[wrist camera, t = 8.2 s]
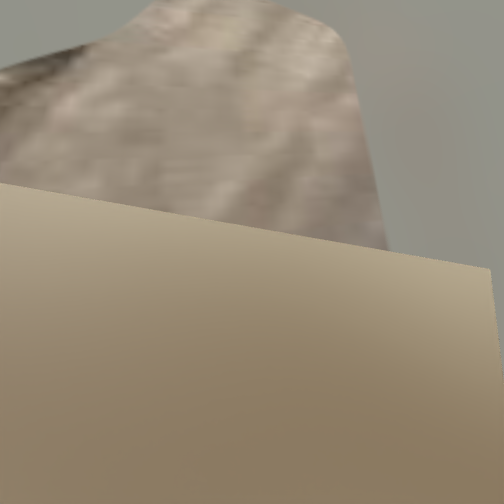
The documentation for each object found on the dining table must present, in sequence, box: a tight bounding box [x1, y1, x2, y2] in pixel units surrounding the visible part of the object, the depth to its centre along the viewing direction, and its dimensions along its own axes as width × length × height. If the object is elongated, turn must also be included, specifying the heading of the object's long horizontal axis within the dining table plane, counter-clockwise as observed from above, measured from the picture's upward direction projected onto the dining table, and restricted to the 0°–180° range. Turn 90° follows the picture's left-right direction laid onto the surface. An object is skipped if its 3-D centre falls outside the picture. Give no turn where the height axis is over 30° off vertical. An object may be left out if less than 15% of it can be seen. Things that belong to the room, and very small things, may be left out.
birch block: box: [0, 183, 504, 504], centre depth 8 cm, size 5×5×12 cm
